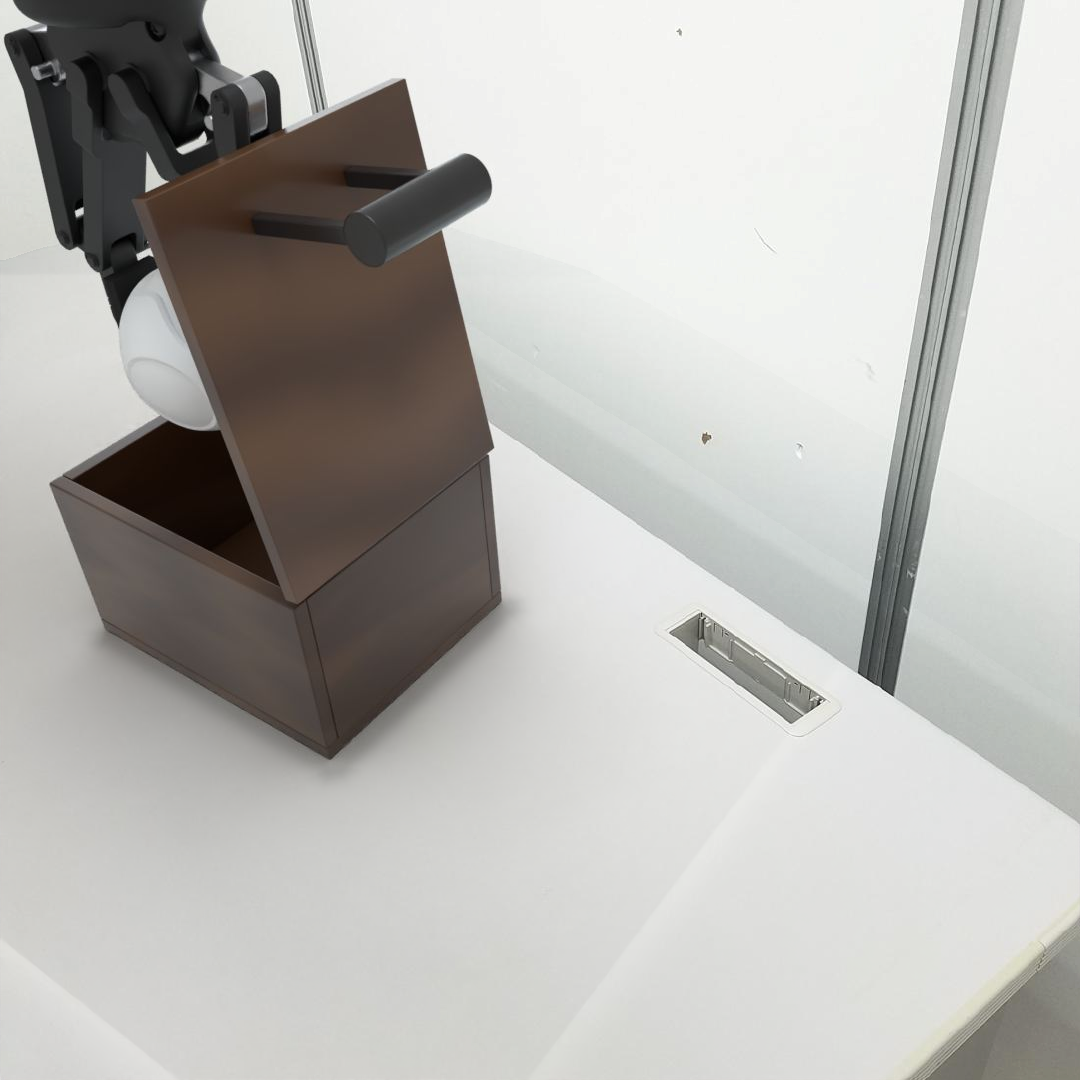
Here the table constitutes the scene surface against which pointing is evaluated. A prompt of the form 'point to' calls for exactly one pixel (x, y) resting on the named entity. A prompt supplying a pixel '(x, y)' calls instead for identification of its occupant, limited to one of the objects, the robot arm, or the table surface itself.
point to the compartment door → (328, 324)
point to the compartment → (272, 584)
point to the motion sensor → (162, 358)
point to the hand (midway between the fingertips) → (225, 413)
